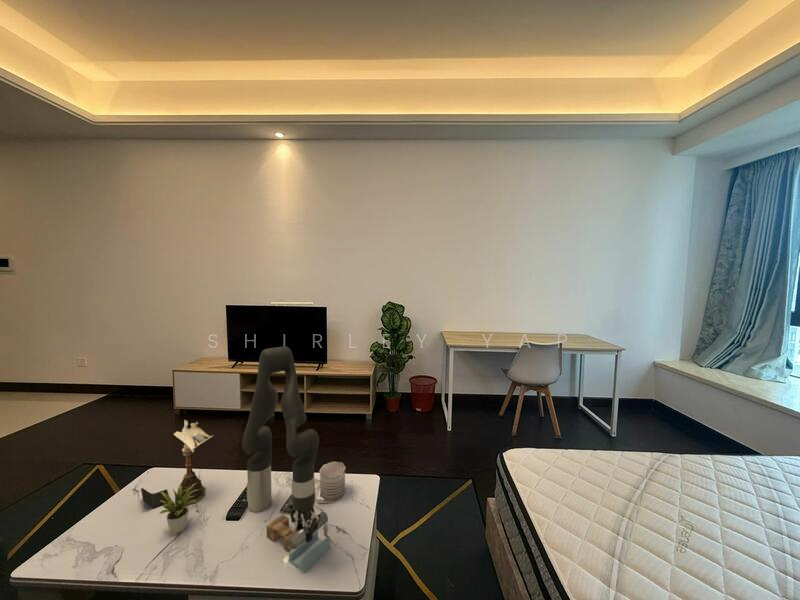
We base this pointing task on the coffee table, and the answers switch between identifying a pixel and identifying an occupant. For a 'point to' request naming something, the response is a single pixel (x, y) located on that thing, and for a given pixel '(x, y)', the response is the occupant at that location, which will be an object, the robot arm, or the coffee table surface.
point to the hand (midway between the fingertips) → (304, 538)
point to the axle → (301, 533)
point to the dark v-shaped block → (154, 498)
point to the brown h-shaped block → (280, 531)
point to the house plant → (177, 510)
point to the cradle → (309, 552)
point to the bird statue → (189, 449)
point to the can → (332, 481)
